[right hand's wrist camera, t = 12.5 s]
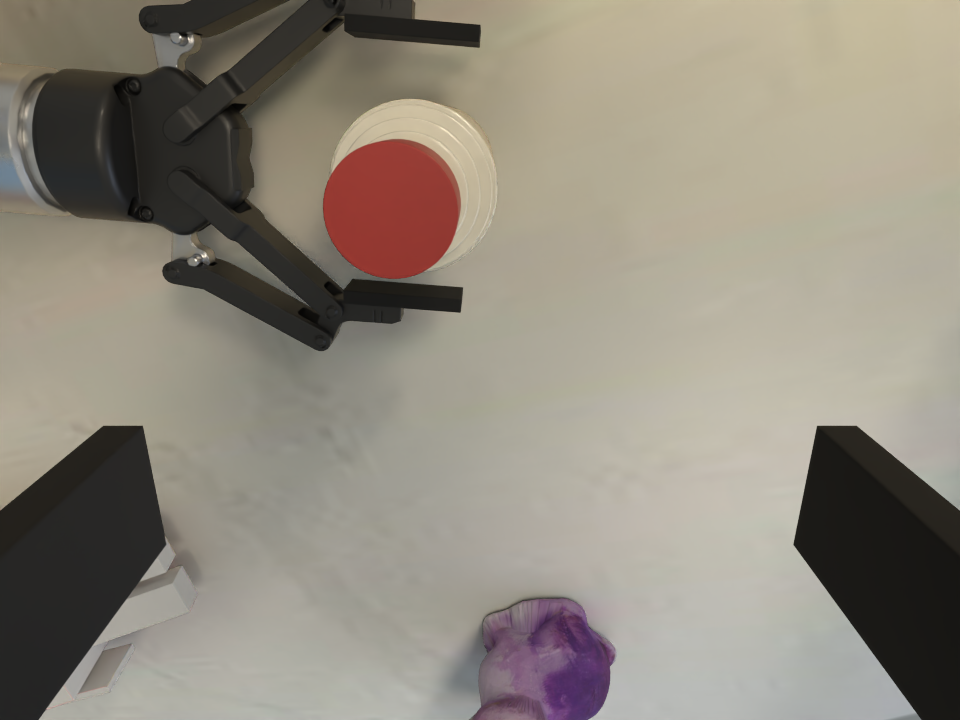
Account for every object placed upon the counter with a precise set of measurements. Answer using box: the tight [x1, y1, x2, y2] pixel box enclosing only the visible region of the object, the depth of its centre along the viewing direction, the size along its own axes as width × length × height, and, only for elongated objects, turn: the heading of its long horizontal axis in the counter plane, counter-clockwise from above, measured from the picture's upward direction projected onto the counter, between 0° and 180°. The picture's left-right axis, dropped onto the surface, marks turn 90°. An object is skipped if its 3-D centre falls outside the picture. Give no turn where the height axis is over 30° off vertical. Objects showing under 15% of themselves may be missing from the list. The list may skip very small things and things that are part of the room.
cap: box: [323, 139, 461, 279], centre depth 21 cm, size 4×4×2 cm
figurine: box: [469, 598, 617, 720], centre depth 47 cm, size 9×10×15 cm
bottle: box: [329, 99, 498, 272], centre depth 31 cm, size 7×7×23 cm
